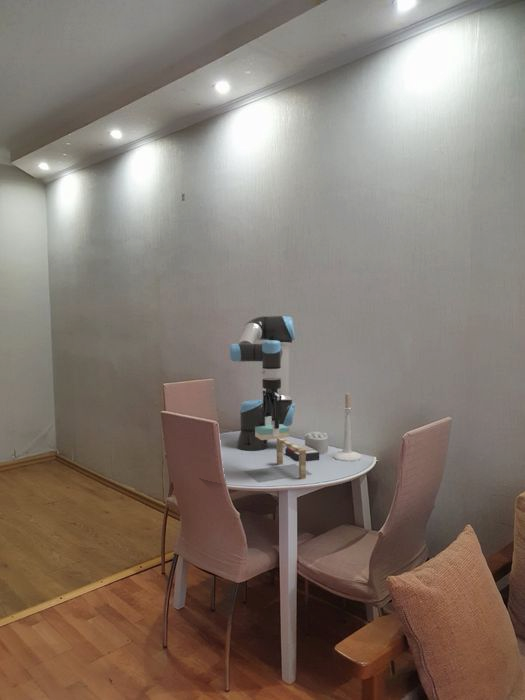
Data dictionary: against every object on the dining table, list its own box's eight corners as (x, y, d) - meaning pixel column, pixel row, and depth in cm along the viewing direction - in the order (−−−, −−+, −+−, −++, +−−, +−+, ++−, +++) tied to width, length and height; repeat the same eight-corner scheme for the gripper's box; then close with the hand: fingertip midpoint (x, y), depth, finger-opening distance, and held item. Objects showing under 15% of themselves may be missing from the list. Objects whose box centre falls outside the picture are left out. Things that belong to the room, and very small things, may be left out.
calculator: (306, 444, 251) (319, 450, 236) (306, 453, 251) (319, 460, 236) (284, 446, 247) (297, 453, 233) (285, 455, 247) (297, 462, 233)
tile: (255, 436, 216) (255, 426, 216) (281, 433, 221) (281, 424, 220) (261, 440, 210) (261, 430, 209) (288, 437, 214) (288, 427, 214)
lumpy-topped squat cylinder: (323, 446, 259) (323, 429, 259) (331, 453, 246) (331, 435, 246) (303, 448, 257) (302, 430, 257) (310, 455, 245) (310, 436, 244)
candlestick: (333, 461, 234) (333, 394, 232) (333, 453, 247) (333, 390, 245) (362, 461, 233) (362, 395, 231) (360, 454, 245) (361, 390, 243)
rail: (276, 464, 230) (276, 438, 229) (280, 464, 230) (280, 437, 230) (301, 480, 209) (301, 450, 208) (305, 479, 209) (305, 450, 208)
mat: (243, 471, 220) (243, 471, 220) (294, 464, 229) (294, 463, 229) (258, 483, 205) (258, 482, 205) (312, 475, 215) (312, 474, 215)
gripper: (254, 376, 221) (254, 429, 223) (272, 382, 203) (273, 440, 204) (270, 375, 224) (270, 428, 226) (290, 381, 205) (290, 438, 207)
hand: (272, 433), depth 215 cm, fingers closed on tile, 7 cm apart
